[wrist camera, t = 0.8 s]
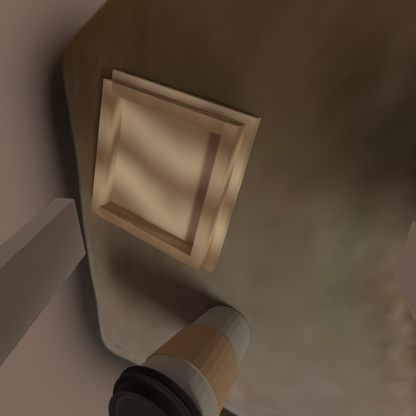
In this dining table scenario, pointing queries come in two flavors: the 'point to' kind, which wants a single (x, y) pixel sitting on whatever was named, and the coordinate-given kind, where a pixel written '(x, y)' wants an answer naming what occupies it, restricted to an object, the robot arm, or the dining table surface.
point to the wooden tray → (170, 166)
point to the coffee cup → (186, 370)
